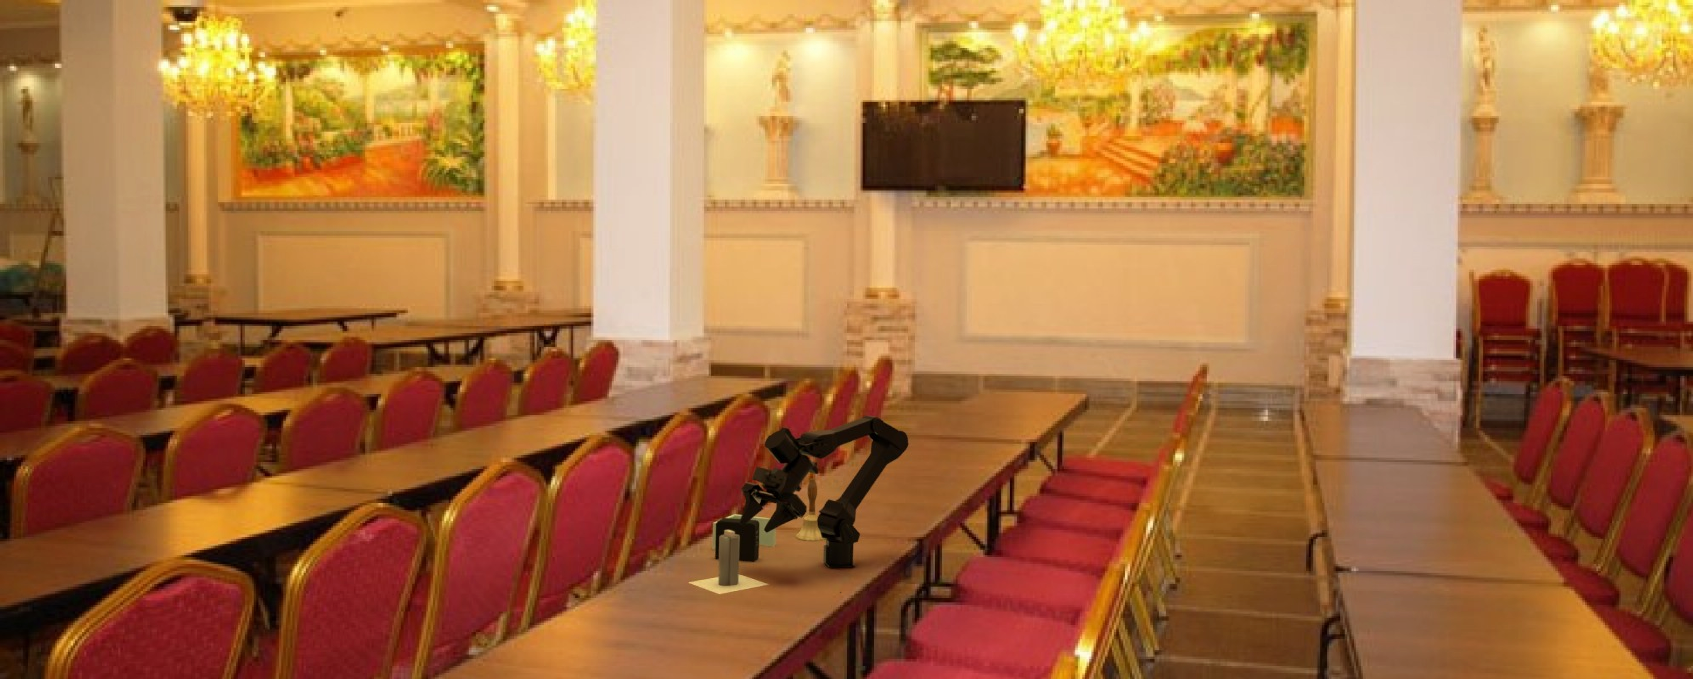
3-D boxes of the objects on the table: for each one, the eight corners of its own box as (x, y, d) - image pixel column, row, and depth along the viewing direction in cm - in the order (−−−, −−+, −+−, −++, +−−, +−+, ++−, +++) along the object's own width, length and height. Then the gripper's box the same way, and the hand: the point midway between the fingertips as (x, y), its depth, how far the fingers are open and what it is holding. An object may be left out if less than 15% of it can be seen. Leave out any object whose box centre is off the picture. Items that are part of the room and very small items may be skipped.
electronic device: (754, 564, 329) (755, 523, 328) (714, 560, 331) (715, 520, 330) (758, 560, 333) (759, 520, 332) (719, 556, 335) (720, 517, 334)
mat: (737, 575, 318) (737, 573, 317) (768, 586, 309) (768, 584, 309) (688, 584, 308) (688, 582, 308) (719, 596, 299) (719, 593, 299)
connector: (731, 579, 312) (733, 527, 311) (742, 583, 309) (743, 531, 308) (714, 583, 308) (715, 530, 307) (724, 586, 305) (726, 533, 304)
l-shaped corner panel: (712, 551, 342) (713, 522, 342) (733, 542, 353) (734, 514, 353) (754, 557, 338) (755, 527, 337) (775, 547, 349) (775, 519, 348)
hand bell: (826, 541, 355) (828, 481, 354) (794, 540, 355) (796, 480, 354) (827, 534, 363) (829, 476, 362) (796, 533, 364) (798, 475, 362)
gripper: (748, 448, 321) (709, 499, 315) (798, 460, 307) (758, 513, 301) (773, 478, 327) (735, 528, 320) (823, 490, 313) (785, 543, 307)
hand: (752, 527), depth 312 cm, fingers open, 9 cm apart
